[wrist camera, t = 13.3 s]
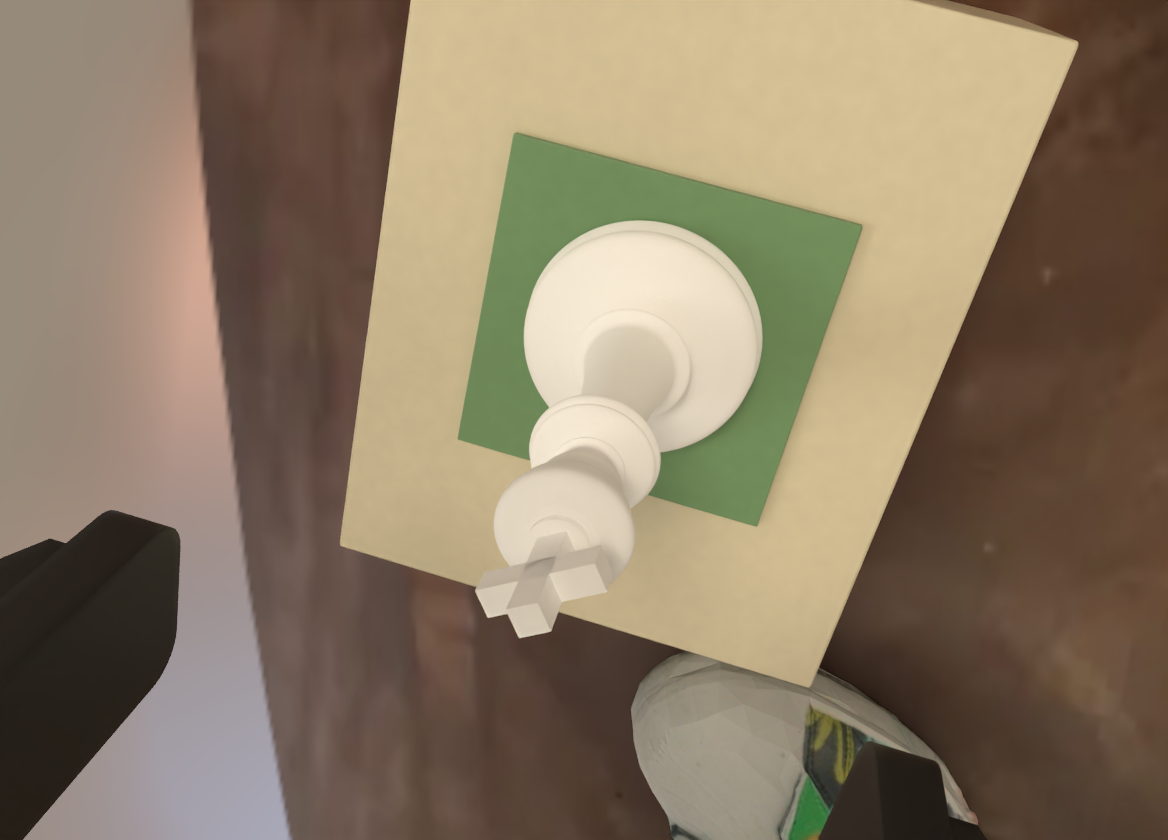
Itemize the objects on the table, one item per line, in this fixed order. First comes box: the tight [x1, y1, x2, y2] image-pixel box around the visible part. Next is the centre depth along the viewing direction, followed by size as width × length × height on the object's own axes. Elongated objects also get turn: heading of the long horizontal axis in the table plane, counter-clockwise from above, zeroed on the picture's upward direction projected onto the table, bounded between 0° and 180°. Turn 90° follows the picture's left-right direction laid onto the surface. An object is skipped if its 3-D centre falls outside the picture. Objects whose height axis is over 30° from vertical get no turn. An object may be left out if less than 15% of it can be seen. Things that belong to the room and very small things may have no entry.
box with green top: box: [340, 0, 1078, 687], centre depth 24 cm, size 12×15×6 cm
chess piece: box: [475, 220, 763, 638], centre depth 17 cm, size 5×5×10 cm
